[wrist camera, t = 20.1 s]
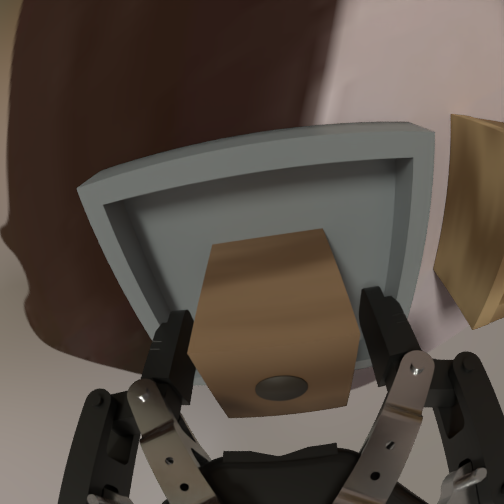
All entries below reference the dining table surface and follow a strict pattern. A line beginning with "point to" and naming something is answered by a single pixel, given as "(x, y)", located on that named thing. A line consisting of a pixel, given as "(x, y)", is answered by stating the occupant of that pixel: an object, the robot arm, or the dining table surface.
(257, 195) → the tray
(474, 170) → the wooden crate
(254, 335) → the walnut block
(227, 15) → the dining table surface
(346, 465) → the robot arm
